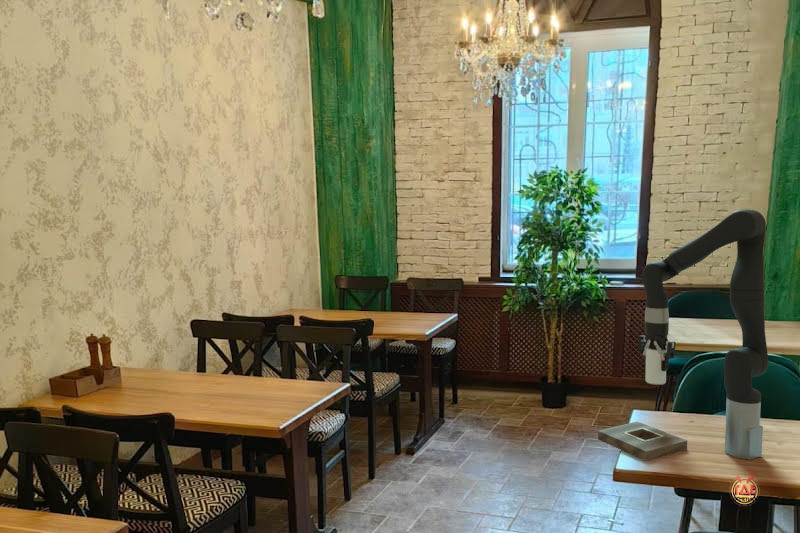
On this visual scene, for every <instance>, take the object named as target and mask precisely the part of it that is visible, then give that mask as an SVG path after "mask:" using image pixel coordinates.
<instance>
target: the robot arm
mask: <svg viewBox="0 0 800 533" xmlns="http://www.w3.org/2000/svg"><path fill="white" fill-rule="evenodd" d="M766 229H767V223H766V219H765V217H764V215H763V214H762V213H761V212H759V211H757V210H754V209H738V210H735V211H733V212H731V213H730V214H729V215H727V216H726V217H725V218H723V219H722V220H721V221H720V222H719V223H718V224H716V225H714V227H712V228H711V229H709V230H708V231H707V232H706V233H703V234H702V235H700V236H699V237H697V238H695V239H693V240H691V241H690V242H688V243H686V244H684V245H681V246H680V247H678V248H677V249H675V250H673V251H671V252H670V254H668V257H665V258H663V259H662V260H659V261H654V262H649V263H647V264H646V265H645V266H644V268H643V271H642V283H643V287H644V288H643V289H644V292H645V311H644V333H645V334H642V335H638V336H637V344H638V347H637V348H638V353H639V354H642V356H643V365H644V367H645V368H646V351H647V349H648V348H651V349H654V350H658V353H659V354H661V358H662V360H661V370H662V371H666V372H667V371H668V369H669V363H670V362H669V361H670V360H674V359H675V356H676V354H675V352H676V345H677V344H676V341H670V340H668V335H669V330H670V328H669V325H670V324H669V323H670V314H669V313H670V312H669V311H670V310H669V293H668V291H666V290H665V289H664V282H667V281H669V280H671V279H673V278H675V277H676V276H677V275H679V274H680V273H681V272H683V271H685V270H688V269H689V268H691V267H693V266H695V265H697V264H699V263H701V262H702V261H703V260H705V259H706V258H708V257H709V256H710V255H712V254H713V253H714V252H715V251H717V250H719V249H721V248H723V247H725V246H727V245H730V244H733V243H735V242H736V247H737V249H736V252H737V255H736V261H735V265H734V267H733V270H732V272H731V273H732V274H731V277H730V281H729V305H730V308H731V310H732V313H733V314H734V316H735V318H736V320H737V322H738V323H739V326H740V329H741V333H742V334H741V336H742V345H741V347H737V348H732V349H730V350H728V351H727V353H726V354H725V356H724V360H723V385H724V389H725V392H726V403H725V406H726V407H725V408H726V409H725V411H726V412H725V429H724V432H725V433H724V453H726V454H728V455H729V456H732V457H735V458H738V459H744V460H748V461H750V460H754V459H758V458H760V457H762V456H763V454H762V453H763V431H764V426H762V425H761V423H760V421H761V409H762V408H761V405H762V403H761V402H762V393H761V392H760V390H758V389H756V388H753V381H752V380H753V378H756V377H760V376H762V375H764V374H765V373H766V372H767V370H768V368H769V353H768V346H767V338H766V324H765V323H766V321H765V299H766V298H765V275H764V274H765V269H764V268H765V267H764V251H765V250H764V248H765V240H766ZM663 349H665V350H664V351H662V350H663ZM664 353H665V356H664Z"/></svg>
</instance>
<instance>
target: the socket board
mask: <svg viewBox="0 0 800 533" xmlns="http://www.w3.org/2000/svg"><path fill="white" fill-rule="evenodd" d="M597 440H598V441H601V442H602V443H605V444H607V445H609V446H611V447H614V448H616V449H618V450H621V451H623V452H625V453H627V454H628V455H629V454H630V455H632V456H634V457H637V458H638V459H641V460H643V461H645V462H649V461H651V460H655V459H659V458H663V457H666V456H670V455H674V454H677V453H680V452H684V451H688V440H687V439H684V438H682V437H679V436H677V435H673V434H671V433H668V432H666V431H662V430H660V429H658V428H655V427H653V426H650V425H648V424H644V423H642V422H639V421H633V422H629V423H626V424H621V425H615V426H611V427H608V428H604V429H599V430H597Z"/></svg>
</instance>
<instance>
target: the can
mask: <svg viewBox="0 0 800 533" xmlns="http://www.w3.org/2000/svg"><path fill="white" fill-rule="evenodd" d="M664 350H665V349H663V350H662V351H664ZM664 356H665V353H664ZM661 360H662V358H661V354H659V353H658V350H654V349H651V348H648V349H647V351H646V367H645V382H646V383H647V384H649V385H655V386H662V385H665V384H666V383H667V371H662V370H661Z"/></svg>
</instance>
